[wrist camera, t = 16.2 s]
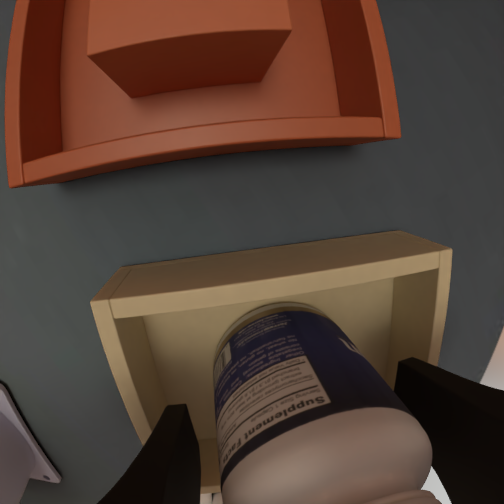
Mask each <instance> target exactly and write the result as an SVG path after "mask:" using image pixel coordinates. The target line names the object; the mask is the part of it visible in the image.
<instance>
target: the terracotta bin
mask: <svg viewBox="0 0 504 504" xmlns="http://www.w3.org/2000/svg"><path fill="white" fill-rule="evenodd" d="M89 1H90V0H17V1H16V6H15V11H14V16H13V22H12V28H11V34H10V42H9V50H8V59H7V71H6V87H5V144H6V161H7V173H8V183H9V188H18V187H26V186H35V185H44V184H55V183H61V182H66V181H70V180H74V179H79V178H83V177H88V176H92V175H97V174H102V173H107V172H112V171H117V170H122V169H127V168H133V167H138V166H144V165H150V164H156V163H162V162H169V161H175V160H182V159H189V158H197V157H204V156H212V155H221V154H230V153H239V152H249V151H260V150H272V149H286V148H301V147H320V146H349V145H357V144H363V143H370V142H376V141H383V140H390V139H398V138H401V129H400V120H399V112H398V105H397V98H396V92H395V85H394V79H393V74H392V68H391V63H390V58H389V53H388V48H387V43H386V39H385V35H384V30H383V26H382V22H381V18H380V14H379V10H378V7H377V3H376V0H288V4H289V9H290V15H291V21H292V26H293V30H292V32H291V33H290V35H289V37H288V38H287V40H286V41H285V43H284V45H283V46H282V48H281V49H280V51H279V53H278V54H277V56H276V58H275V59H274V61H273V62H272V64H271V66H270V67H269V69H268V71H267V72H266V74H265V76H264V77H263V79H262V81H261V82H256V83H240V84H228V85H217V86H208V87H199V88H191V89H184V90H177V91H170V92H164V93H158V94H152V95H147V96H141V97H136V98H130V97H129V96H128V95H127V94H126V93H125V92H124V91H123V90H122V89H121V88H120V87H119V86H118V85H117V84H116V83H115V82H114V81H113V80H112V79H110V78H109V77H108V76H107V75H106V74H105V73H104V72H103V71H102V70H101V69H100V68H99V67H98V66H97V65H96V64H95V63H94V62H93V61H92V60H90V59H89V58H88V57H87V28H88V13H89Z"/></svg>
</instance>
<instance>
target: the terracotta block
mask: <svg viewBox="0 0 504 504" xmlns="http://www.w3.org/2000/svg"><path fill="white" fill-rule="evenodd" d="M292 30H293V26H292V21H291V15H290V9H289V4H288V0H90V1H89V13H88V28H87V57H88V58H89V59H90V60H92V61H93V62H94V63H95V64H96V65H97V66H98V67H99V68H100V69H101V70H102V71H103V72H104V73H105V74H106V75H107V76H108V77H109V78H110V79H112V80H113V81H114V82H115V83H116V84H117V85H118V86H119V87H120V88H121V89H122V90H123V91H124V92H125V93H126V94H127V95H128V96H129V97H130V98H136V97H141V96H147V95H152V94H158V93H164V92H170V91H177V90H184V89H191V88H199V87H208V86H217V85H228V84H240V83H256V82H261V81H262V79H263V77H264V76H265V74H266V72H267V71H268V69H269V67H270V66H271V64H272V62H273V61H274V59H275V58H276V56H277V54H278V53H279V51H280V49H281V48H282V46H283V45H284V43H285V41H286V40H287V38H288V37H289V35H290V33H291V32H292Z"/></svg>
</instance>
